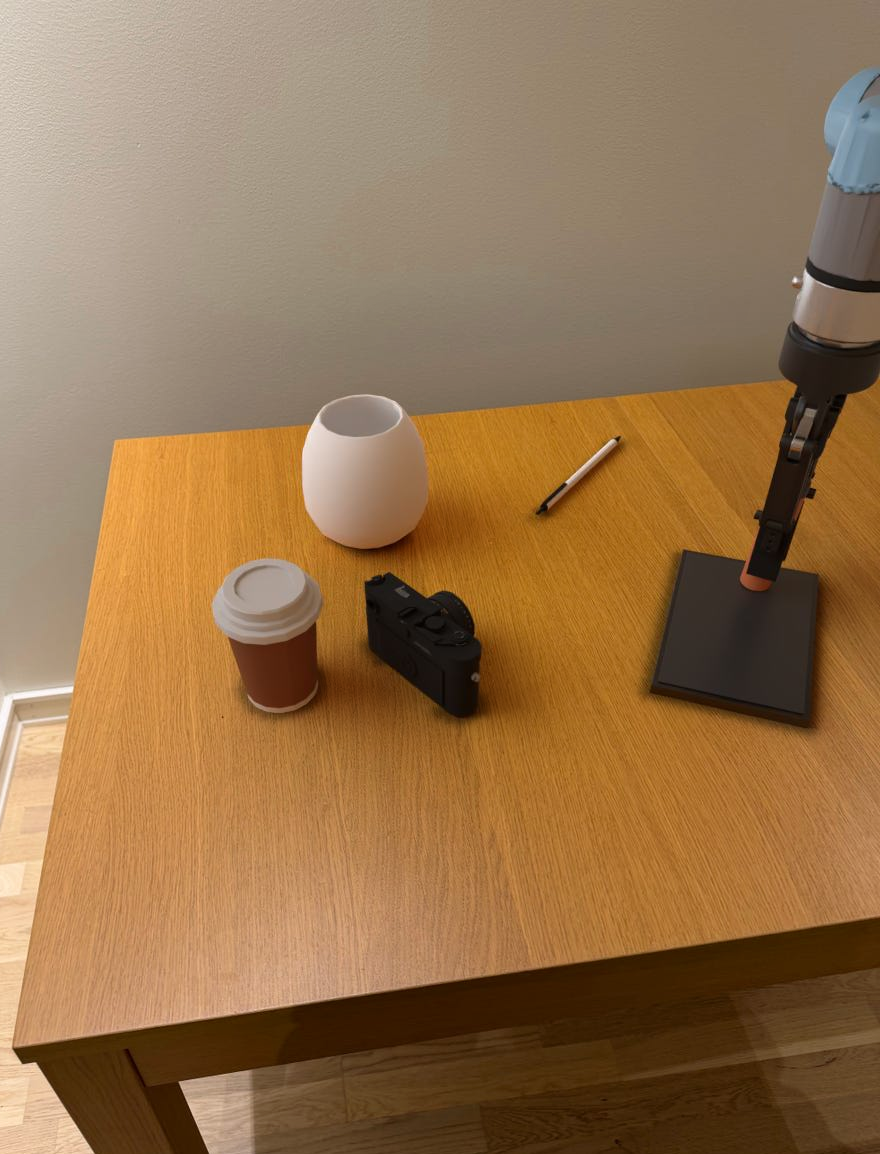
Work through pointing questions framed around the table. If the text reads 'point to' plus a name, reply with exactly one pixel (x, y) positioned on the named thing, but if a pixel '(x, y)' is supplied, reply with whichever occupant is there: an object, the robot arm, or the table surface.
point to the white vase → (364, 472)
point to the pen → (577, 476)
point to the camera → (425, 641)
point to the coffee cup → (272, 631)
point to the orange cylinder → (746, 579)
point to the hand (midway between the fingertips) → (766, 564)
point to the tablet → (739, 640)
